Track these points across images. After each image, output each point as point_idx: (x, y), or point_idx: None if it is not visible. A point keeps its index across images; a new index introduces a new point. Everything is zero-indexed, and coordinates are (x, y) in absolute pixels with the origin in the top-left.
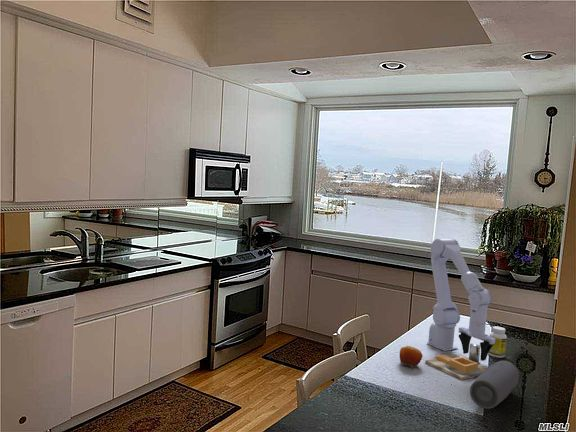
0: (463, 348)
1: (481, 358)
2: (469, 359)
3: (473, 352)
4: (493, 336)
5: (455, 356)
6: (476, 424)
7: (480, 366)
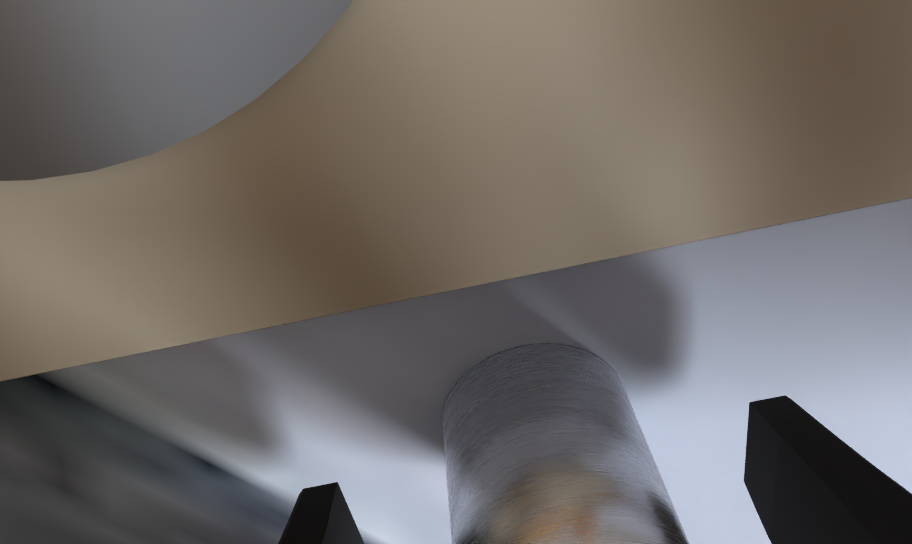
0: (851, 476)
1: (300, 521)
2: (566, 360)
3: (518, 534)
4: None
5: (790, 118)
6: None
7: (57, 300)
